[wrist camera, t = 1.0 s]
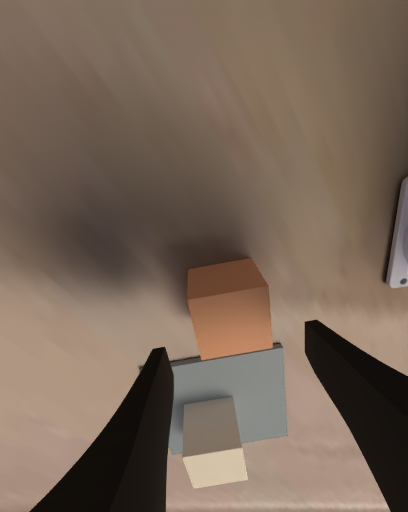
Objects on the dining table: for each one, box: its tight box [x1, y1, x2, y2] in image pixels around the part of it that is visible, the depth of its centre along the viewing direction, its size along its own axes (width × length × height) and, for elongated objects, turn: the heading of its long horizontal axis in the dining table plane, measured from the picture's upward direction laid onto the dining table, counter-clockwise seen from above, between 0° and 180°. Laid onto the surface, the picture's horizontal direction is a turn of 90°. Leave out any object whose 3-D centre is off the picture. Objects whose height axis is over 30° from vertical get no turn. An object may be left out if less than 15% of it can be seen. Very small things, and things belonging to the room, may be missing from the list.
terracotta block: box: [187, 258, 273, 360], centre depth 15 cm, size 4×4×4 cm
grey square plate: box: [140, 343, 287, 455], centre depth 21 cm, size 12×12×1 cm
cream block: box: [182, 396, 248, 488], centre depth 20 cm, size 4×4×4 cm
